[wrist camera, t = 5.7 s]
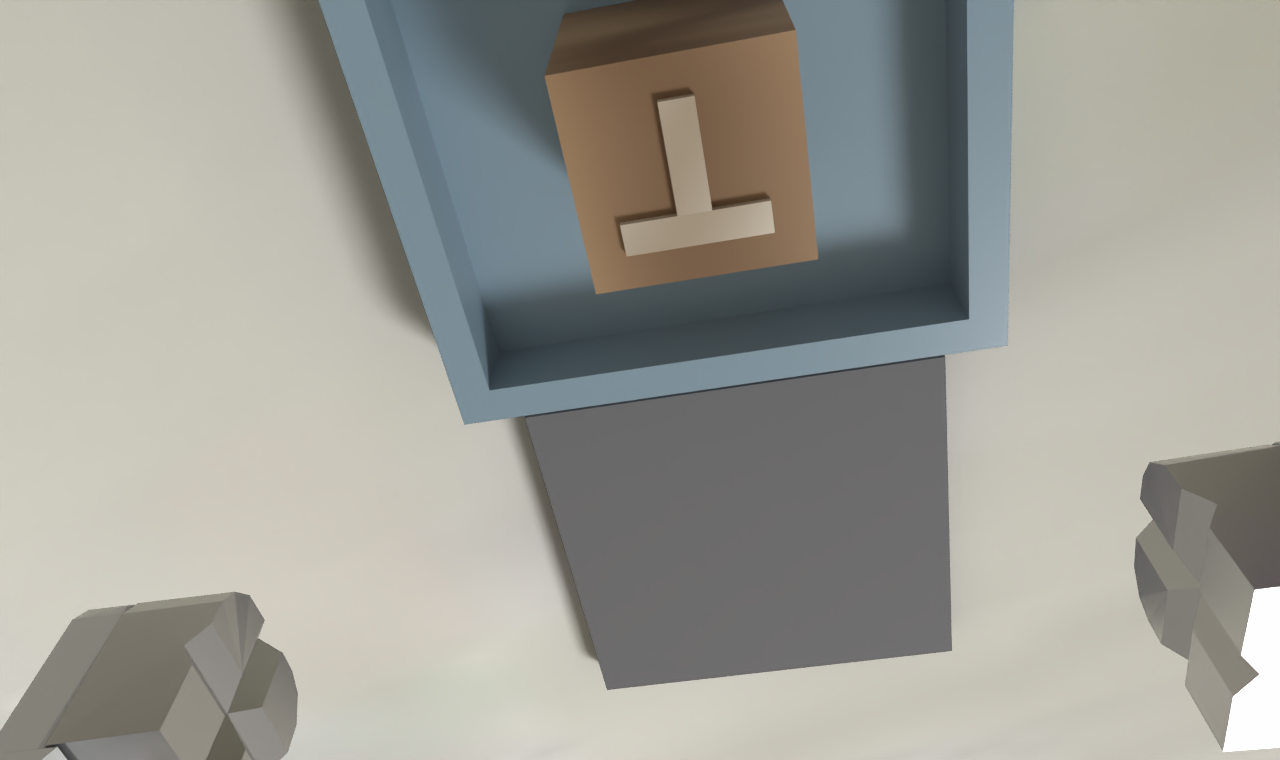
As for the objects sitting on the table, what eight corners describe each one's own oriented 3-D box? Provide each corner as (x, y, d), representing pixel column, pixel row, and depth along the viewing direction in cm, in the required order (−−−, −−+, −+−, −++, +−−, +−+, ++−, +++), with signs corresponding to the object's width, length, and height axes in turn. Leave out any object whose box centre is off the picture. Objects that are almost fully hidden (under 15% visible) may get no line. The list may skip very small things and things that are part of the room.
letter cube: (771, -26, 19) (796, 32, 16) (792, 173, 21) (819, 262, 18) (563, 13, 19) (543, 78, 16) (604, 204, 22) (595, 297, 18)
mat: (936, 339, 24) (944, 357, 23) (944, 629, 29) (952, 650, 29) (528, 399, 25) (524, 418, 24) (608, 668, 30) (607, 689, 30)
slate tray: (979, -327, 17) (1019, -333, 15) (980, 296, 23) (1007, 345, 21) (301, -180, 18) (261, -168, 16) (478, 371, 25) (464, 424, 23)
